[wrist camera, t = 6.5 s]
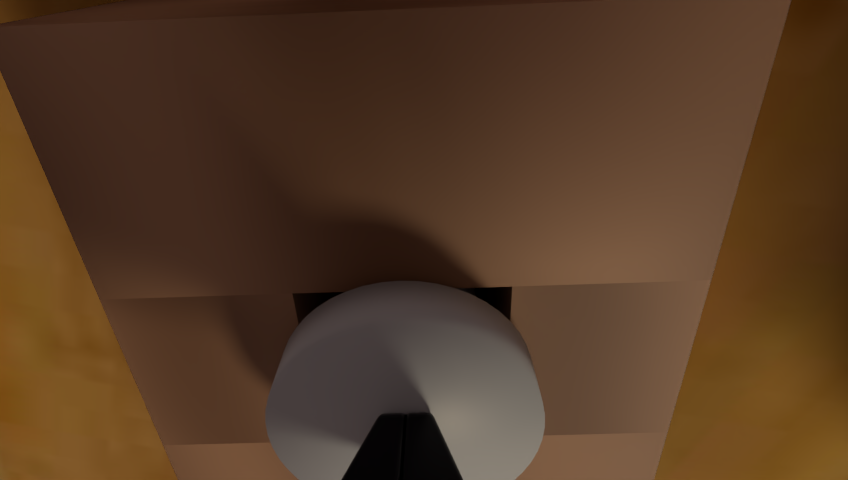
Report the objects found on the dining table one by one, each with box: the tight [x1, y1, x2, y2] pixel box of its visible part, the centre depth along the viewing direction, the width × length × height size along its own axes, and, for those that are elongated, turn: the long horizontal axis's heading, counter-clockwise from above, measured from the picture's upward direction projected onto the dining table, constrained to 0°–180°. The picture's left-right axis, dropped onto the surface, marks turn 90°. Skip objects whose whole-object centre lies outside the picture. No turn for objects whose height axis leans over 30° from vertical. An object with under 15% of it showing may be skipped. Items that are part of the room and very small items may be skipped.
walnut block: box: [0, 0, 791, 480], centre depth 14 cm, size 10×22×5 cm, turn 2°
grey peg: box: [265, 281, 545, 480], centre depth 11 cm, size 4×4×6 cm
